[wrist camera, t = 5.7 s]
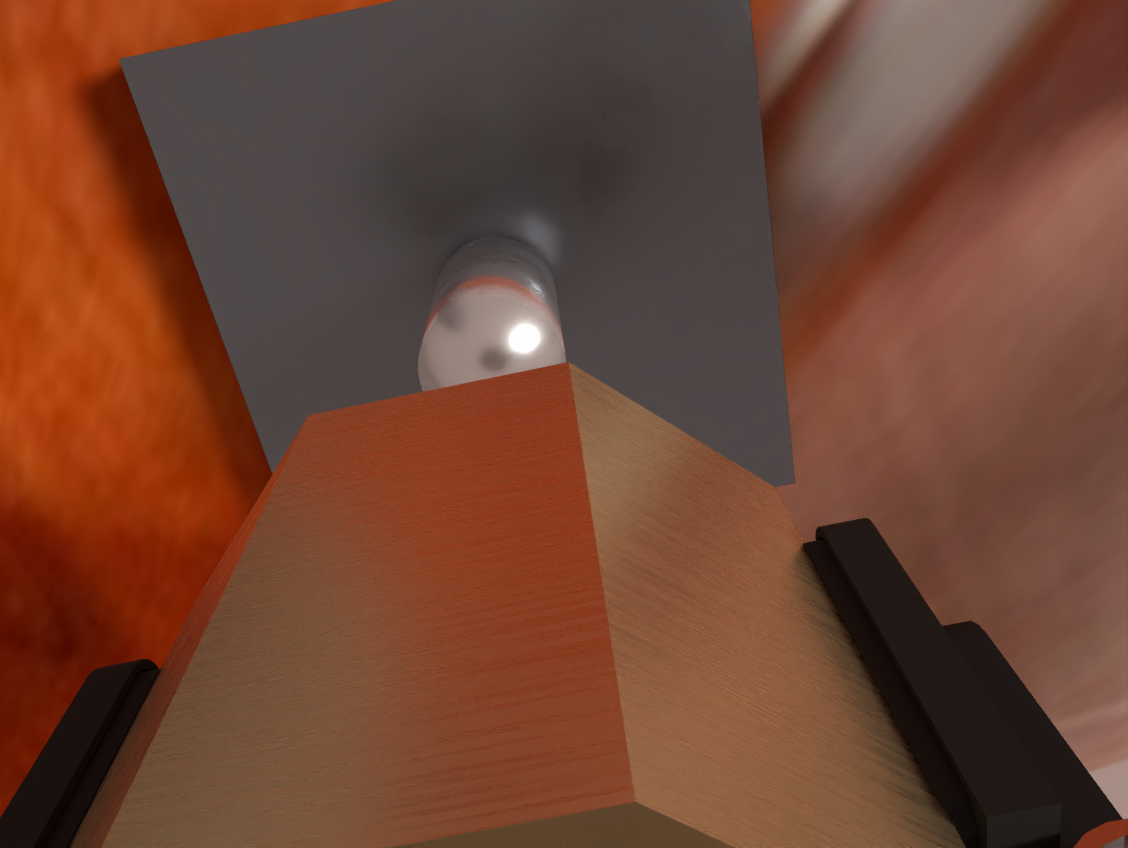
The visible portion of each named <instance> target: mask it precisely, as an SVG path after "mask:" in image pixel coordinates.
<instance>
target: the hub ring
mask: <svg viewBox="0 0 1128 848" xmlns="http://www.w3.org/2000/svg"><path fill="white" fill-rule="evenodd" d="M803 544H804V541H803V539H802V537H801V535H800V533H799V531H798V529H797V528H796V526H795V524H794V522H793V520H792V518H791V516H790V514H789V512H788V511H787V509H786V507H785V505H784V503H783V501H782V499H781V497H780V495H779V493H778V492H777V490H776V488H775V487H774V486H772V485H771V484H769V483H767V482H766V481H764V480H762V479H761V478H759V477H758V476H756V475H754V474H753V473H751V472H749V471H748V470H746V469H744V468H743V467H741V466H739V465H738V464H736V463H734V462H733V461H731V460H730V459H728V458H726V457H725V456H723V455H721V454H720V453H718V452H716V451H715V450H713V449H711V448H710V447H708V446H706V445H705V444H703V443H702V442H700V441H698V440H697V439H695V438H693V437H692V436H690V435H688V434H687V433H685V432H683V431H682V430H680V429H678V428H677V427H675V426H674V425H672V424H670V423H669V422H667V421H665V420H664V419H662V418H660V417H659V416H657V415H655V414H654V413H652V412H650V411H649V410H647V409H645V408H644V407H642V406H641V405H639V404H637V403H636V402H634V401H632V400H631V399H629V398H627V397H626V396H624V395H622V394H621V393H619V392H617V391H616V390H614V389H613V388H611V387H609V386H608V385H606V384H604V383H603V382H601V381H599V380H598V379H596V378H594V377H593V376H591V375H589V374H588V373H586V372H585V371H583V370H581V369H580V368H578V367H576V366H575V365H573V364H571V363H570V362H566V363H561V364H556V365H551V366H546V367H541V368H537V369H532V370H527V371H522V372H517V373H512V374H507V375H502V376H497V377H493V378H488V379H483V380H478V381H473V382H468V383H463V384H458V385H454V386H449V387H444V388H439V389H434V390H429V391H424V392H419V393H415V394H410V395H405V396H400V397H395V398H390V399H385V400H380V401H375V402H371V403H366V404H361V405H356V406H351V407H346V408H341V409H336V410H332V411H327V412H322V413H317V414H312V415H308V417H307V418H306V420H305V421H304V423H303V425H302V426H301V428H300V430H299V431H298V433H297V435H296V436H295V438H294V440H293V441H292V443H291V445H290V446H289V448H288V450H287V451H286V453H285V455H284V456H283V458H282V460H281V461H280V463H279V464H278V466H277V468H276V469H275V471H274V473H273V474H272V476H271V478H270V479H269V481H268V483H267V484H266V486H265V488H264V489H263V491H262V493H261V494H260V496H259V498H258V499H257V501H256V503H255V504H254V506H253V507H252V509H251V511H250V512H249V514H248V516H247V517H246V519H245V521H244V522H243V524H242V526H241V527H240V529H239V531H238V532H237V534H236V536H235V537H234V539H233V541H232V542H231V544H230V546H229V547H228V549H227V551H226V552H225V554H224V555H223V557H222V559H221V560H220V562H219V564H218V565H217V567H216V569H215V570H214V572H213V574H212V575H211V577H210V579H209V580H208V582H207V584H206V585H205V587H204V589H203V590H202V592H201V594H200V595H199V597H198V598H197V600H196V602H195V604H194V606H193V608H192V610H191V611H190V613H189V615H188V617H187V619H186V621H185V623H184V625H183V627H182V629H181V631H180V633H179V635H178V637H177V639H176V640H175V642H174V644H173V646H172V648H171V650H170V652H169V654H168V656H167V658H166V660H165V662H164V664H163V666H162V668H161V670H160V672H159V674H158V676H157V678H156V680H155V682H154V684H153V686H152V687H151V689H150V691H149V693H148V695H147V697H146V699H145V701H144V703H143V705H142V707H141V709H140V711H139V713H138V715H137V717H136V718H135V720H134V722H133V724H132V726H131V728H130V730H129V732H128V734H127V736H126V738H125V740H124V742H123V744H122V746H121V747H120V749H119V751H118V753H117V755H116V757H115V759H114V761H113V763H112V765H111V767H110V769H109V771H108V773H107V775H106V777H105V778H104V780H103V782H102V784H101V786H100V788H99V790H98V792H97V794H96V796H95V798H94V800H93V802H92V804H91V806H90V808H89V809H88V811H87V813H86V815H85V817H84V819H83V821H82V823H81V825H80V827H79V829H78V831H77V833H76V835H75V837H74V839H73V840H72V842H71V844H70V846H69V848H966V847H965V845H964V844H963V842H962V840H961V838H960V836H959V834H958V832H957V830H956V828H955V826H954V825H953V823H952V821H951V819H950V817H949V815H948V813H946V812H945V811H944V809H943V808H942V807H941V806H940V805H939V803H938V801H937V799H936V797H935V795H934V793H933V791H932V789H931V787H930V785H929V784H928V782H927V780H926V778H925V776H924V774H923V772H922V770H921V768H920V766H919V764H918V763H917V761H916V759H915V757H914V755H913V753H912V751H911V749H910V747H909V745H908V743H907V742H906V740H905V738H904V736H903V734H902V732H901V730H900V728H899V726H898V724H897V722H896V720H895V719H894V717H893V715H892V713H891V711H890V709H889V707H888V705H887V703H886V701H885V699H884V698H883V696H882V694H881V692H880V690H879V688H878V686H877V684H876V682H875V680H874V678H873V677H872V675H871V673H870V671H869V669H868V667H867V665H866V663H865V661H864V659H863V657H862V656H861V654H860V652H859V650H858V648H857V646H856V644H855V642H854V640H853V638H852V636H851V634H850V633H849V631H848V629H847V627H846V625H845V623H844V621H843V619H842V617H841V615H840V613H839V612H838V610H837V608H836V606H835V604H834V602H833V600H832V598H831V596H830V594H829V592H828V591H827V589H826V587H825V585H824V583H823V581H822V579H821V577H820V575H819V573H818V571H817V570H816V568H815V566H814V564H813V562H812V560H811V558H810V556H809V554H808V552H807V550H806V548H805V547H804V545H803Z"/></svg>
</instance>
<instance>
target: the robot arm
mask: <svg viewBox="0 0 1128 848" xmlns="http://www.w3.org/2000/svg"><path fill="white" fill-rule="evenodd" d="M803 545H804V547H805V548H806V550H807V552H808V554H809V556H810V558H811V560H812V562H813V564H814V566H815V568H816V570H817V571H818V573H819V575H820V577H821V579H822V581H823V583H824V585H825V587H826V589H827V591H828V592H829V594H830V596H831V598H832V600H833V602H834V604H835V606H836V608H837V610H838V612H839V613H840V615H841V617H842V619H843V621H844V623H845V625H846V627H847V629H848V631H849V633H850V634H851V636H852V638H853V640H854V642H855V644H856V646H857V648H858V650H859V652H860V654H861V656H862V657H863V659H864V661H865V663H866V665H867V667H868V669H869V671H870V673H871V675H872V677H873V678H874V680H875V682H876V684H877V686H878V688H879V690H880V692H881V694H882V696H883V698H884V699H885V701H886V703H887V705H888V707H889V709H890V711H891V713H892V715H893V717H894V719H895V720H896V722H897V724H898V726H899V728H900V730H901V732H902V734H903V736H904V738H905V740H906V742H907V743H908V745H909V747H910V749H911V751H912V753H913V755H914V757H915V759H916V761H917V763H918V764H919V766H920V768H921V770H922V772H923V774H924V776H925V778H926V780H927V782H928V784H929V785H930V787H931V789H932V791H933V793H934V795H935V797H936V799H937V801H938V803H939V805H940V806H941V807H942V808H943V809H944V811H945V812H946V813H948V815H949V817H950V819H951V821H952V823H953V825H954V826H955V828H956V830H957V832H958V834H959V836H960V838H961V840H962V842H963V844H964V845H965V847H966V848H1128V819H1122V817H1121V816H1120V815H1119V814H1118V812H1117V811H1116V809H1115V808H1114V806H1113V805H1112V804H1111V802H1110V801H1109V800H1108V798H1107V797H1106V796H1105V794H1104V793H1103V792H1102V790H1101V789H1100V787H1099V786H1098V785H1097V783H1096V782H1095V781H1094V779H1093V778H1092V777H1091V775H1090V774H1089V772H1088V771H1087V770H1086V768H1085V767H1084V766H1083V764H1082V763H1081V762H1080V760H1079V759H1078V757H1077V756H1076V755H1075V753H1074V752H1073V751H1072V749H1071V748H1070V747H1069V745H1068V744H1067V742H1066V741H1065V740H1064V738H1063V737H1062V736H1061V734H1060V733H1059V732H1058V730H1057V729H1056V727H1055V726H1054V725H1053V723H1052V722H1051V721H1050V719H1049V718H1048V717H1047V715H1046V714H1045V713H1044V711H1043V710H1042V708H1041V707H1040V706H1039V704H1038V703H1037V702H1036V700H1035V699H1034V698H1033V696H1032V695H1031V693H1030V692H1029V691H1028V689H1027V688H1026V687H1025V685H1024V684H1023V683H1022V681H1021V680H1020V678H1019V677H1018V676H1017V674H1016V673H1015V672H1014V670H1013V669H1012V668H1011V666H1010V665H1009V663H1008V662H1007V661H1006V659H1005V658H1004V657H1003V655H1002V654H1001V653H1000V651H999V650H998V649H997V647H996V646H995V644H994V643H993V642H992V640H991V639H990V638H989V636H988V635H987V634H986V633H985V631H984V630H983V629H982V628H981V627H980V626H979V625H978V624H976V623H974V622H972V621H967V622H961V623H956V624H951V625H946V626H942V625H941V624H940V622H939V621H938V619H937V618H936V616H935V615H934V613H933V612H932V610H931V609H930V608H929V606H928V605H927V603H926V602H925V600H924V599H923V597H922V596H921V594H920V593H919V591H918V590H917V588H916V587H915V585H914V584H913V582H912V581H911V579H910V578H909V576H908V575H907V573H906V572H905V570H904V569H903V567H902V566H901V564H900V563H899V561H898V560H897V558H896V557H895V556H894V554H893V553H892V551H891V550H890V548H889V547H888V545H887V544H886V542H885V541H884V539H883V538H882V536H881V535H880V533H879V532H878V530H877V529H876V527H875V526H874V524H873V523H872V522H871V521H870V520H869V519H868V518H862V519H857V520H852V521H847V522H842V523H837V524H831V525H826V526H821V527H818V528H817V529H816V541H812V542H807V543H804V544H803ZM160 670H161V669H158V667H157V666H156V664H155V663H153V662H152V661H151V660H147V659H141V660H136V661H131V662H126V663H121V664H116V665H111V666H106V667H101V668H98V669H95V670H93V671H92V672H91V674H90V675H89V676H88V677H87V679H86V680H85V682H84V683H83V685H82V687H81V688H80V690H79V692H78V693H77V695H76V696H75V698H74V700H73V701H72V703H71V705H70V706H69V708H68V709H67V711H66V713H65V714H64V716H63V717H62V719H61V721H60V722H59V724H58V726H57V727H56V729H55V730H54V732H53V734H52V735H51V737H50V739H49V740H48V742H47V743H46V745H45V747H44V748H43V750H42V752H41V753H40V755H39V756H38V758H37V760H36V761H35V763H34V764H33V766H32V768H31V769H30V771H29V773H28V774H27V776H26V777H25V779H24V781H23V782H22V784H21V786H20V787H19V789H18V790H17V792H16V794H15V795H14V797H13V798H12V800H11V802H10V803H9V805H8V807H7V808H6V810H5V811H4V813H3V815H2V816H1V818H0V848H69V846H70V844H71V842H72V840H73V839H74V837H75V835H76V833H77V831H78V829H79V827H80V825H81V823H82V821H83V819H84V817H85V815H86V813H87V811H88V809H89V808H90V806H91V804H92V802H93V800H94V798H95V796H96V794H97V792H98V790H99V788H100V786H101V784H102V782H103V780H104V778H105V777H106V775H107V773H108V771H109V769H110V767H111V765H112V763H113V761H114V759H115V757H116V755H117V753H118V751H119V749H120V747H121V746H122V744H123V742H124V740H125V738H126V736H127V734H128V732H129V730H130V728H131V726H132V724H133V722H134V720H135V718H136V717H137V715H138V713H139V711H140V709H141V707H142V705H143V703H144V701H145V699H146V697H147V695H148V693H149V691H150V689H151V687H152V686H153V684H154V682H155V680H156V678H157V676H158V674H159V672H160Z"/></svg>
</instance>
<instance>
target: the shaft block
mask: <svg viewBox="0 0 1128 848" xmlns="http://www.w3.org/2000/svg"><path fill="white" fill-rule="evenodd" d="M119 62H120V64H121V67H122V70H123V72H124V75H125V78H126V80H127V83H128V86H129V88H130V91H131V94H132V97H133V99H134V102H135V105H136V107H137V110H138V113H139V115H140V118H141V121H142V124H143V126H144V129H145V132H146V134H147V137H148V140H149V142H150V145H151V148H152V151H153V153H154V156H155V159H156V161H157V164H158V167H159V169H160V172H161V175H162V178H163V180H164V183H165V186H166V188H167V191H168V194H169V196H170V199H171V202H172V205H173V207H174V210H175V213H176V215H177V218H178V221H179V223H180V226H181V229H182V232H183V234H184V237H185V240H186V242H187V245H188V248H189V250H190V253H191V256H192V259H193V261H194V264H195V267H196V269H197V272H198V275H199V277H200V280H201V283H202V285H203V288H204V291H205V294H206V296H207V299H208V302H209V304H210V307H211V310H212V312H213V315H214V318H215V321H216V323H217V326H218V329H219V331H220V334H221V337H222V339H223V342H224V345H225V348H226V350H227V353H228V356H229V358H230V361H231V364H232V366H233V369H234V372H235V375H236V377H237V380H238V383H239V385H240V388H241V391H242V393H243V396H244V399H245V402H246V404H247V407H248V410H249V412H250V415H251V418H252V420H253V423H254V426H255V429H256V431H257V434H258V437H259V439H260V442H261V445H262V447H263V450H264V453H265V455H266V458H267V461H268V464H269V466H270V469H271V472H272V474H273V473H274V471H275V469H276V468H277V466H278V464H279V463H280V461H281V460H282V458H283V456H284V455H285V453H286V451H287V450H288V448H289V446H290V445H291V443H292V441H293V440H294V438H295V436H296V435H297V433H298V431H299V430H300V428H301V426H302V425H303V423H304V421H305V420H306V418H307V417H308V415H312V414H317V413H322V412H327V411H332V410H336V409H341V408H346V407H351V406H356V405H361V404H366V403H371V402H375V401H380V400H385V399H390V398H395V397H400V396H405V395H410V394H415V393H419V392H424V391H429V390H434V389H439V388H444V387H449V386H454V385H458V384H463V383H468V382H473V381H478V380H483V379H488V378H493V377H497V376H502V375H507V374H512V373H517V372H522V371H527V370H532V369H537V368H541V367H546V366H551V365H556V364H561V363H566V362H570V363H571V364H573V365H575V366H576V367H578V368H580V369H581V370H583V371H585V372H586V373H588V374H589V375H591V376H593V377H594V378H596V379H598V380H599V381H601V382H603V383H604V384H606V385H608V386H609V387H611V388H613V389H614V390H616V391H617V392H619V393H621V394H622V395H624V396H626V397H627V398H629V399H631V400H632V401H634V402H636V403H637V404H639V405H641V406H642V407H644V408H645V409H647V410H649V411H650V412H652V413H654V414H655V415H657V416H659V417H660V418H662V419H664V420H665V421H667V422H669V423H670V424H672V425H674V426H675V427H677V428H678V429H680V430H682V431H683V432H685V433H687V434H688V435H690V436H692V437H693V438H695V439H697V440H698V441H700V442H702V443H703V444H705V445H706V446H708V447H710V448H711V449H713V450H715V451H716V452H718V453H720V454H721V455H723V456H725V457H726V458H728V459H730V460H731V461H733V462H734V463H736V464H738V465H739V466H741V467H743V468H744V469H746V470H748V471H749V472H751V473H753V474H754V475H756V476H758V477H759V478H761V479H762V480H764V481H766V482H767V483H769V484H771V485H772V486H774V487H777V486H783V485H788V484H793V483H795V478H794V467H793V456H792V446H791V435H790V424H789V414H788V403H787V392H786V382H785V371H784V361H783V350H782V339H781V329H780V318H779V307H778V297H777V286H776V275H775V265H774V254H773V244H772V233H771V222H770V212H769V201H768V190H767V180H766V169H765V158H764V148H763V137H762V126H761V116H760V105H759V95H758V84H757V73H756V63H755V52H754V41H753V31H752V20H751V9H750V0H397V1H392V2H387V3H382V4H378V5H373V6H368V7H363V8H359V9H354V10H349V11H344V12H340V13H335V14H330V15H325V16H321V17H316V18H311V19H306V20H302V21H297V22H292V23H288V24H283V25H278V26H273V27H269V28H264V29H259V30H254V31H250V32H245V33H240V34H235V35H231V36H226V37H221V38H216V39H212V40H207V41H202V42H197V43H193V44H188V45H183V46H178V47H174V48H169V49H164V50H159V51H155V52H150V53H145V54H141V55H136V56H131V57H126V58H122V59H119Z"/></svg>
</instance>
